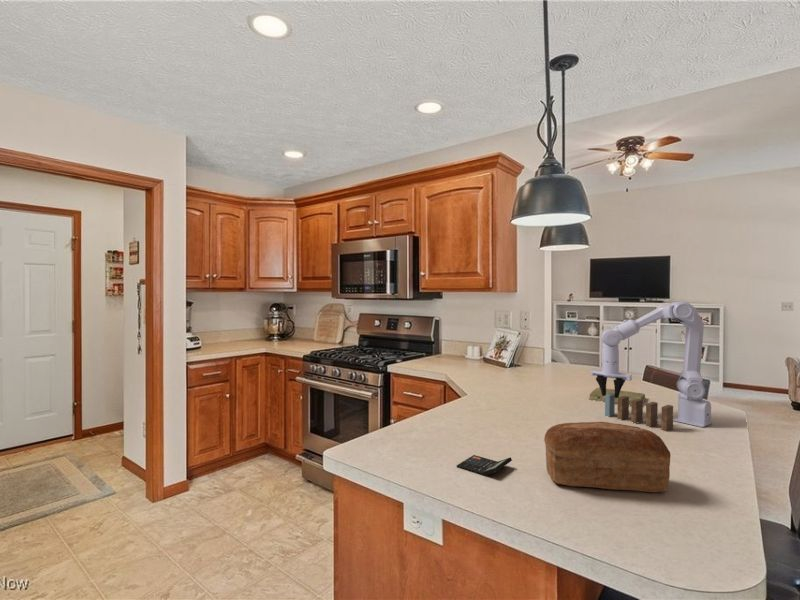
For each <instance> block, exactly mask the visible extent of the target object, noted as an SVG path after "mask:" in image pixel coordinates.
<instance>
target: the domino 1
mask: <svg viewBox="0 0 800 600" xmlns="http://www.w3.org/2000/svg"><path fill="white" fill-rule="evenodd" d="M614 395H615V394H612V393H610V394H607V395H605V402H604V416H605V417H606V416H608V418H610V416H611V417H612V415H613V416H614V414H615V406H616V404H615V396H614Z"/></svg>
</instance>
